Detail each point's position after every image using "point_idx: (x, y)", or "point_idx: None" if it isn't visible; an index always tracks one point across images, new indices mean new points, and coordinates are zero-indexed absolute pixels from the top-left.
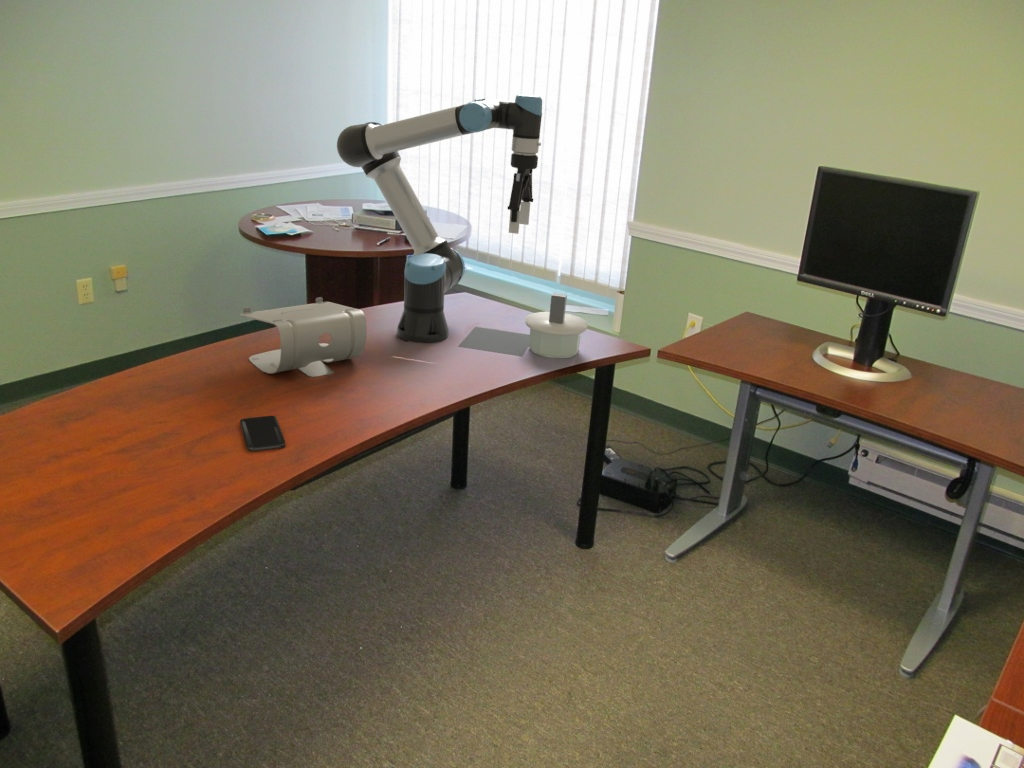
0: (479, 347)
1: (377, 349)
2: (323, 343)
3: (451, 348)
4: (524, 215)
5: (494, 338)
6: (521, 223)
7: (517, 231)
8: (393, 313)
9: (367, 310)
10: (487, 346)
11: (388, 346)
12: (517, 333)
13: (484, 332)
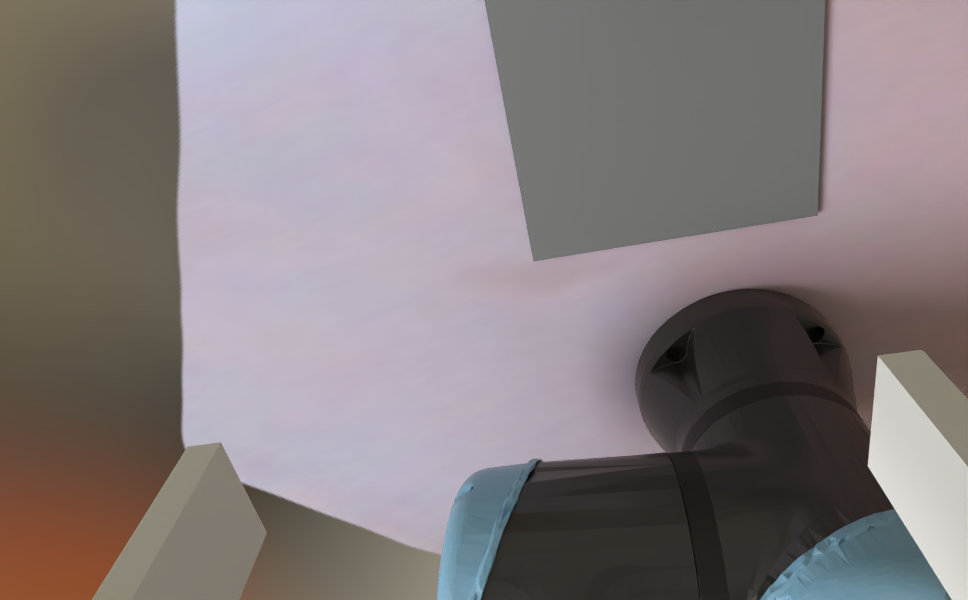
0: (793, 131)
1: None
2: None
3: (835, 229)
4: (193, 593)
5: (637, 126)
6: (253, 516)
7: (939, 379)
8: None
9: None
10: (762, 106)
11: None
12: (504, 62)
13: (583, 198)
